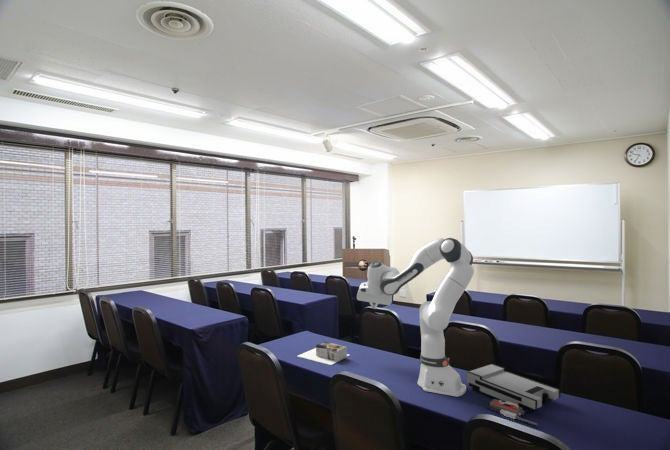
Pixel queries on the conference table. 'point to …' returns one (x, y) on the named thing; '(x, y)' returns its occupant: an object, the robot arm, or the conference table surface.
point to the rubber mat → (317, 357)
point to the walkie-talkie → (508, 409)
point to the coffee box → (331, 351)
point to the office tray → (511, 387)
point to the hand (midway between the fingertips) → (373, 307)
